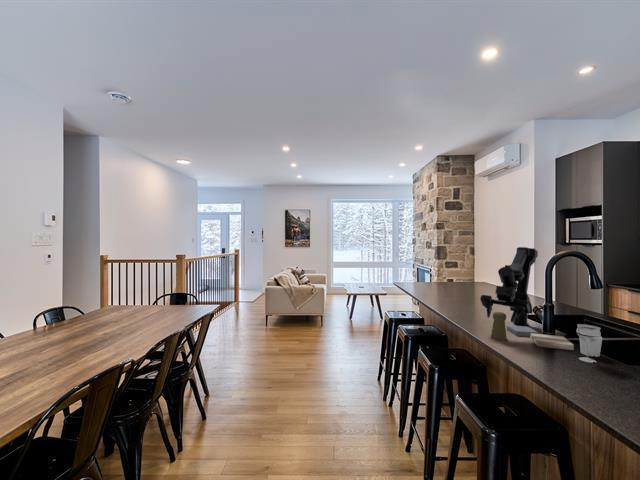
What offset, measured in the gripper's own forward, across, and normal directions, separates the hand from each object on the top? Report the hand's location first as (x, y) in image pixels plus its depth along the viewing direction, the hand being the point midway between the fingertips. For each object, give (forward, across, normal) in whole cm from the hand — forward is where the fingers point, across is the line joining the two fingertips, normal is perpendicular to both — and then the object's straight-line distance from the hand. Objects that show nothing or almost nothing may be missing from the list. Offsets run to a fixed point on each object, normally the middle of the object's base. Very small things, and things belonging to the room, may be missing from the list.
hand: (499, 319), depth 144 cm
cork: (+6, 0, +6) cm, 8 cm away
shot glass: (+2, +30, +10) cm, 32 cm away
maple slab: (0, +17, +11) cm, 21 cm away
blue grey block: (-5, +5, +17) cm, 18 cm away
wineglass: (+8, +30, +3) cm, 32 cm away
